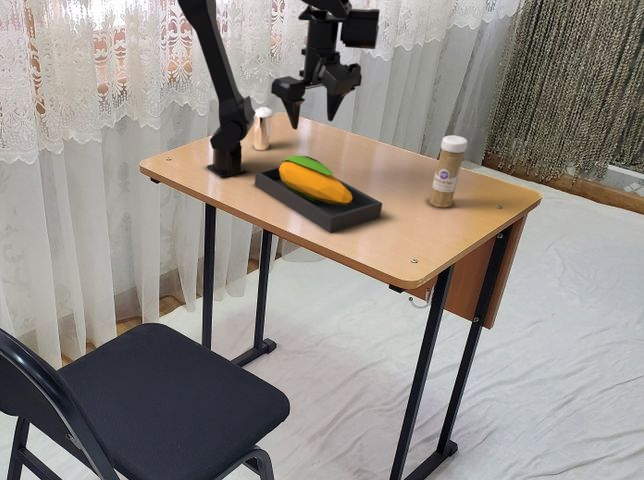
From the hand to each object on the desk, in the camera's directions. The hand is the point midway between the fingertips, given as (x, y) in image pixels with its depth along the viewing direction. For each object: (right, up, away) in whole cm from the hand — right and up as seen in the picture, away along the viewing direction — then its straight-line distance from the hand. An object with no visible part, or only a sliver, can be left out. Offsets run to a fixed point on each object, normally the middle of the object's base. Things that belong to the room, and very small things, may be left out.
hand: (312, 124), depth 150 cm
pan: (0, -16, -1) cm, 16 cm away
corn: (0, -16, -1) cm, 15 cm away
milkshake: (-8, +1, +22) cm, 24 cm away
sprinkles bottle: (+25, -17, -2) cm, 31 cm away
